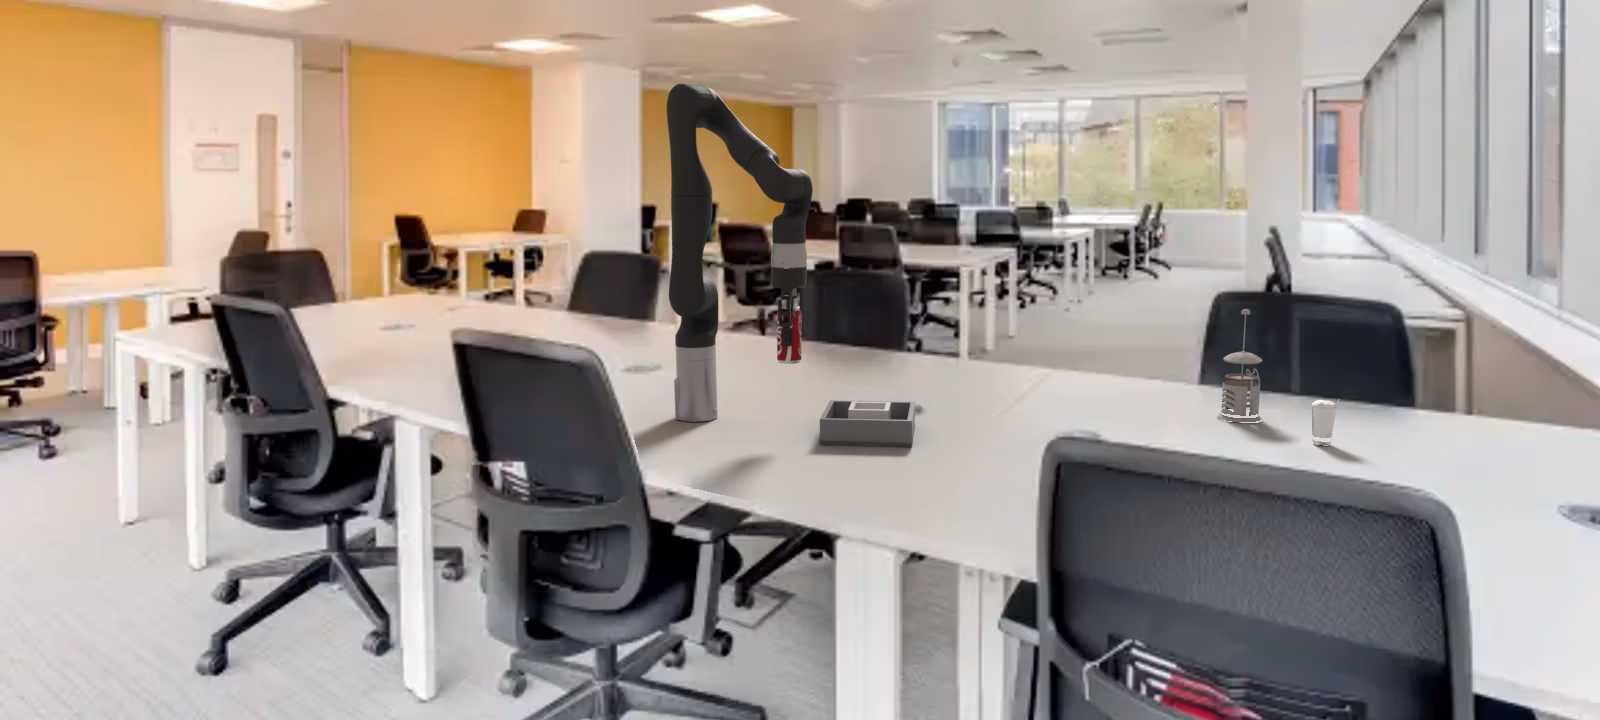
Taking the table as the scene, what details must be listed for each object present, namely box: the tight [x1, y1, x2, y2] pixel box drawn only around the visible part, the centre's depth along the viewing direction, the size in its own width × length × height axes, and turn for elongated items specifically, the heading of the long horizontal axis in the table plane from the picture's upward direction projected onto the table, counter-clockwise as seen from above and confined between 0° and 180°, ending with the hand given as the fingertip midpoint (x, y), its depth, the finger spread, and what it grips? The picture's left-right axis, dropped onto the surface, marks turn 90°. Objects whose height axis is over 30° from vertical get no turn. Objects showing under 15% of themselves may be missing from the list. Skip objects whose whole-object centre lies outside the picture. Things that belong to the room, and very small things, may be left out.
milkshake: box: [1311, 398, 1340, 446], centre depth 207 cm, size 5×5×10 cm
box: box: [819, 399, 916, 448], centre depth 221 cm, size 19×19×6 cm
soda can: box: [776, 305, 803, 365], centre depth 220 cm, size 5×5×12 cm
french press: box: [1216, 308, 1263, 422], centre depth 229 cm, size 10×12×25 cm
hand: (789, 343), depth 220 cm, fingers closed on soda can, 5 cm apart
